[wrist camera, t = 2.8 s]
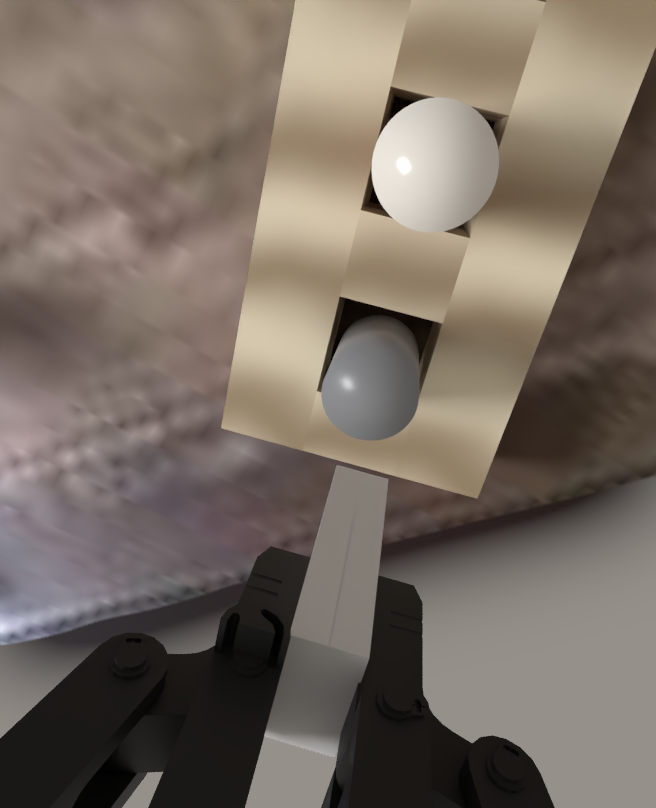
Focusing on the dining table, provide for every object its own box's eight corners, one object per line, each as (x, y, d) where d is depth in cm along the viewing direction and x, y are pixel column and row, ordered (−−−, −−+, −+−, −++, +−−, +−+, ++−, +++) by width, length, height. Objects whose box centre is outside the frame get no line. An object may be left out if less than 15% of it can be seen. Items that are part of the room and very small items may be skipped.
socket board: (370, -268, 24) (359, -365, 20) (712, -191, 24) (781, -273, 19) (245, 393, 36) (221, 428, 32) (470, 454, 36) (477, 498, 31)
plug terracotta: (396, 97, 25) (390, 83, 20) (497, 122, 25) (518, 114, 20) (369, 203, 27) (358, 215, 22) (464, 228, 27) (475, 246, 22)
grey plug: (349, 305, 29) (333, 338, 24) (429, 326, 29) (431, 365, 24) (330, 380, 31) (312, 426, 26) (406, 400, 31) (403, 451, 25)
